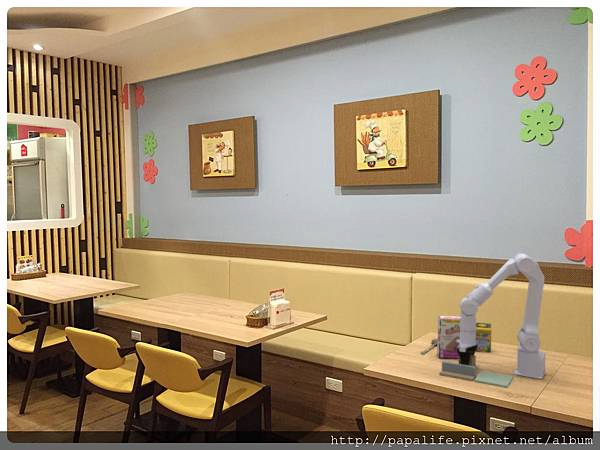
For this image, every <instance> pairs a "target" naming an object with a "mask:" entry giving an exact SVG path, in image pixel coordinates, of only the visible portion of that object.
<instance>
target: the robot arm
mask: <svg viewBox="0 0 600 450" xmlns="http://www.w3.org/2000/svg"><path fill="white" fill-rule="evenodd" d="M519 272H520V273H522V274H523V275H524V276H525V277H526V278H527V280H528V287H527V292H526V301H525V307H524V315H523V322H522V323H521V327H520V330H519V331H518V332H517V335H516V339H517V341H518V342H519V345H518V346H517V356H516V357H517V358H516V360H517V361H516V363H517V364H516V369H515V370H514V373H513V374H514V375H515V376H516V375H517V376H523V377H528V378H532V379H533V378H534V379H539V380H542V379H543V378H544V377H545V374H546V352H544V351H541V350H540V348H541V341H540V330H539V321H540V320H539V319H540V314H541V306H542V300H543V294H544V293H543V292H544V285H545V280H546V279H545V275H544V274H543V272H542V269H541V268H540V266H539V263H538V262H537V261H536V259H534V258H533V257H531V256H529V255H528V254H526V253H524V252H520V253H516V254H515V255H513V257H512V258H509V260H507V261H506V263H505V264H503V265H502V266H501V268H499V270H498V271H497V272H496V273H495V274H494V275H493V276H491V278H490V279H488V280H487V282H481V283H479V284H476V285H474V287H475V288H474V289H473V290H472V291H471V292H470V293H467V294H466V296H465V297H463V298H462V299H461V300H460V302H459V304H458V305H459V308H460V316H459V317H460V340H457V341H456V342H457V343H459V344H460V348H457V352H458V354H459V357H460V360H461V364H463V365H469V362H470V357H471V355H474V356H475V354H476V352H477V351H476V349H477V347H478V345H476V323H477V317H476V316H477V312H478V310H479V307H481V306H482V305H483V304H485V302H486V301H487V300H489V299H490V298H491V297H492V295H493V294H494V289H496V287H498V286H499V285H500V284H501V283H502V282H503V281H504V280H506V279H507V278H508V277H510V276H513V275H519Z"/></svg>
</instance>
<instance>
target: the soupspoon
mask: <svg viewBox="0 0 600 450" xmlns="http://www.w3.org/2000/svg"><path fill="white" fill-rule="evenodd" d="M431 343H432V344H431V345H429V347H427V348H426V349H424V350H423V351H421V352H420V355H423V356H424V355H425V353H427V351H429V350H430V349H432V347H433V348H434V346H436V345H437V344H438V338H433V339H432V340H431Z"/></svg>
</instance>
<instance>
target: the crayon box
mask: <svg viewBox="0 0 600 450" xmlns="http://www.w3.org/2000/svg"><path fill="white" fill-rule="evenodd" d="M482 325H483V326H482ZM476 345H478V347H477V349H476V351H475V352H479V353H480V352H482V353H490V352H491V353H492V323H486V322H476Z"/></svg>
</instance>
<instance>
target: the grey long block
mask: <svg viewBox="0 0 600 450" xmlns="http://www.w3.org/2000/svg"><path fill="white" fill-rule="evenodd" d="M438 373H439V376H443V377H444V376H445V377H448V378H453V379H459V380H463V381H464V380H465V381H470V382H473V381H474V380H475V378H476V377H477V366H476V367H475V366H469V365H463V364H459V362H458V363H457V362H451V361H446V360H443V361H442V362H441V371H439V372H438Z"/></svg>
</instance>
